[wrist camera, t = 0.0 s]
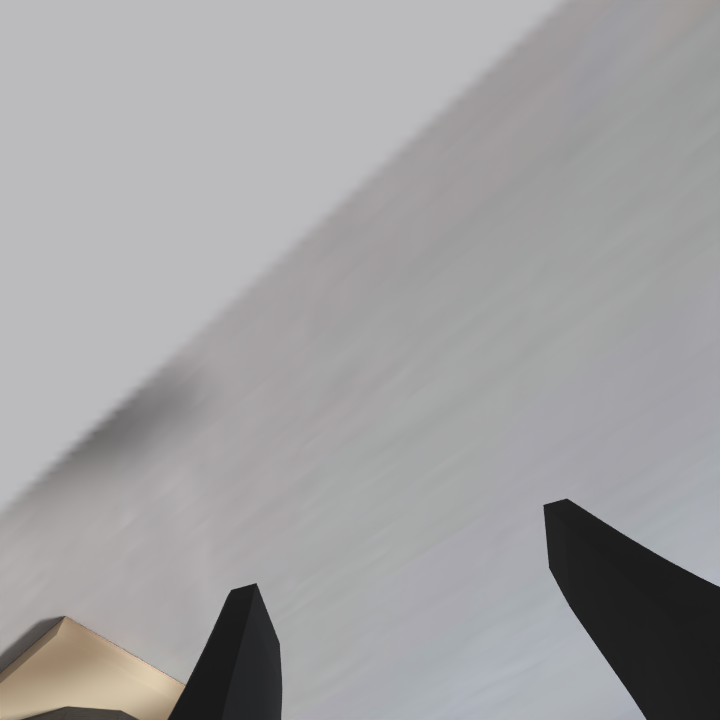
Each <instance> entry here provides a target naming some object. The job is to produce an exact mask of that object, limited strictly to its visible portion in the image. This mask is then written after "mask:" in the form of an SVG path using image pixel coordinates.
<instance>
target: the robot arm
mask: <svg viewBox="0 0 720 720" xmlns="http://www.w3.org/2000/svg"><path fill="white" fill-rule="evenodd" d="M543 506H544V516H545V527H546V538H547V549H548V560H549V568H550V570H551V572H552V574H553V576H554V578H555V580H556V582H557V584H558V586H559V587H560V589H561V591H562V593H563V595H564V597H565V598H566V600H567V602H568V604H569V606H570V608H571V609H572V611H573V612H574V613H575V615H576V616H577V618H578V619H579V621H580V622H581V624H582V625H583V627H584V628H585V630H586V631H587V633H588V634H589V635H590V637H591V638H592V640H593V641H594V643H595V644H596V646H597V647H598V648H599V650H600V651H601V653H602V654H603V656H604V657H605V659H606V660H607V661H608V663H609V664H610V666H611V667H612V669H613V670H614V671H615V673H616V674H617V676H618V677H619V679H620V680H621V682H622V683H623V684H624V686H625V687H626V689H627V690H628V692H629V693H630V695H631V696H632V698H633V699H634V701H635V702H636V704H637V705H638V707H639V708H640V710H641V712H642V713H643V715H644V716H645V718H646V719H647V720H720V587H718V586H716V585H714V584H712V583H710V582H708V581H706V580H704V579H702V578H700V577H698V576H696V575H694V574H692V573H690V572H689V571H687V570H685V569H683V568H681V567H679V566H677V565H675V564H673V563H672V562H670V561H668V560H666V559H664V558H663V557H661V556H659V555H657V554H656V553H654V552H652V551H650V550H649V549H647V548H645V547H644V546H642V545H640V544H639V543H637V542H635V541H634V540H632V539H630V538H629V537H627V536H625V535H624V534H622V533H620V532H619V531H617V530H616V529H614V528H613V527H611V526H609V525H608V524H606V523H605V522H603V521H601V520H600V519H598V518H597V517H595V516H594V515H592V514H591V513H589V512H587V511H586V510H584V509H583V508H581V507H580V506H578V505H576V504H575V503H573V502H572V501H570V500H568V499H564V500H560V501H556V502H553V503H549V504H545V505H543ZM281 709H282V674H281V658H280V643H279V641H278V638H277V635H276V633H275V630H274V628H273V625H272V622H271V620H270V617H269V615H268V612H267V609H266V607H265V604H264V602H263V599H262V596H261V594H260V591H259V589H258V586H257V583H255V584H252V585H248V586H244V587H241V588H237V589H233V590H231V592H230V593H229V595H228V597H227V599H226V601H225V604H224V606H223V608H222V610H221V613H220V615H219V617H218V620H217V622H216V624H215V626H214V629H213V631H212V633H211V635H210V637H209V639H208V642H207V644H206V646H205V648H204V650H203V652H202V654H201V656H200V658H199V660H198V662H197V664H196V666H195V668H194V670H193V672H192V674H191V676H190V678H189V680H188V682H187V684H186V686H185V688H184V690H183V692H182V693H181V695H180V697H179V699H178V701H177V703H176V704H175V706H174V708H173V710H172V712H171V714H170V715H169V717H168V719H167V720H281Z"/></svg>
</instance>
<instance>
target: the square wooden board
mask: <svg viewBox="0 0 720 720" xmlns="http://www.w3.org/2000/svg"><path fill="white" fill-rule="evenodd" d="M184 688H185V685H183V684H181V683H180V682H178V681H176V680H174V679H173V678H171V677H169V676H168V675H166V674H164V673H162V672H161V671H159V670H157V669H155V668H154V667H152V666H150V665H149V664H147V663H145V662H143V661H142V660H140V659H138V658H136V657H135V656H133V655H131V654H129V653H128V652H126V651H124V650H123V649H121V648H119V647H117V646H116V645H114V644H112V643H110V642H109V641H107V640H105V639H104V638H102V637H100V636H98V635H97V634H95V633H93V632H91V631H90V630H88V629H86V628H84V627H83V626H81V625H79V624H78V623H76V622H74V621H72V620H71V619H69V618H67V617H64V618H63V619H62V620H61V621H60V622H59V623H57V624H56V625H55V626H54V627H53V628H52V629H50V630H49V631H48V632H47V633H46V634H45V635H44V636H42V637H41V638H40V639H39V640H38V641H37V642H36V643H34V644H33V645H32V646H31V647H30V648H29V649H28V650H26V651H25V652H24V653H23V654H22V655H21V656H20V657H18V658H17V659H16V660H15V661H14V662H13V663H12V664H10V665H9V666H8V667H7V668H6V669H5V670H4V671H2V672H1V673H0V720H21V719H24V718H28V717H31V716H35V715H38V714H42V713H46V712H49V711H53V710H56V709H60V708H64V707H67V706H71V707H84V708H97V709H110V710H122V711H123V712H125V713H127V714H129V715H131V716H133V717H135V718H137V719H139V720H167V719H168V717H169V715H170V714H171V712H172V710H173V708H174V706H175V704H176V703H177V701H178V699H179V697H180V695H181V693H182V692H183V690H184Z"/></svg>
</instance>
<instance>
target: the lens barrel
mask: <svg viewBox="0 0 720 720" xmlns="http://www.w3.org/2000/svg"><path fill="white" fill-rule="evenodd" d="M21 720H139V719H137V718H135V717H133V716H131V715H129V714H127V713H125V712H123V711H122V710H110V709H97V708H84V707H71V706H67V707H64V708H60V709H56V710H53V711H49V712H46V713H42V714H38V715H35V716H31V717H28V718H24V719H21Z"/></svg>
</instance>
